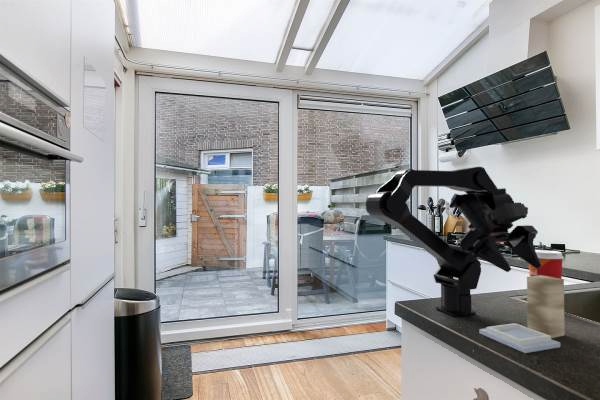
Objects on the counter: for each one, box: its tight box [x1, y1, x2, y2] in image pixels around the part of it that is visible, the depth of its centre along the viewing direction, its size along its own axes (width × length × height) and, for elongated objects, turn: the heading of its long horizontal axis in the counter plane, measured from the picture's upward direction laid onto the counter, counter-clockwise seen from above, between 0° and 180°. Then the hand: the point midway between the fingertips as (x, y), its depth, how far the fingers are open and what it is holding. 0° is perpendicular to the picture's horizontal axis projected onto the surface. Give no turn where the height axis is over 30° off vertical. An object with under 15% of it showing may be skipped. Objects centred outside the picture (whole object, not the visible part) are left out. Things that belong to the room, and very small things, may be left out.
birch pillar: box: [526, 275, 565, 339], centre depth 71 cm, size 4×4×11 cm
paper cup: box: [528, 249, 565, 279], centre depth 88 cm, size 8×8×14 cm
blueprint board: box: [478, 322, 561, 354], centre depth 67 cm, size 10×8×2 cm
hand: (524, 269), depth 74 cm, fingers open, 9 cm apart
